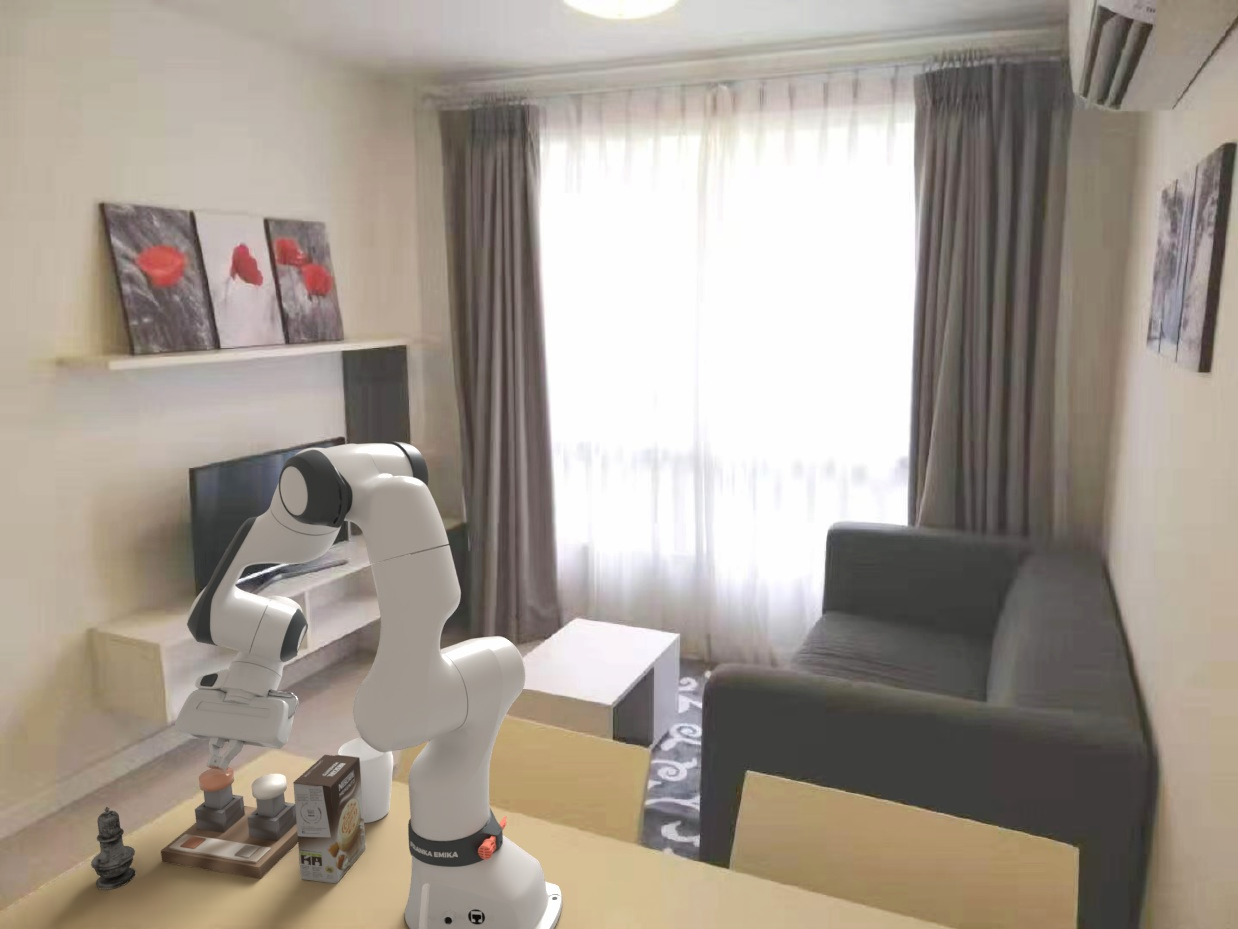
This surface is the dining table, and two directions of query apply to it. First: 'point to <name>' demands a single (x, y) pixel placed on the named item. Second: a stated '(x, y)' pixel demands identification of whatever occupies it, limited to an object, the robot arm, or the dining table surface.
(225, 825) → the pattern board
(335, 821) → the coffee box
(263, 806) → the white button
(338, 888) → the dining table surface
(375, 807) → the cup
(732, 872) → the dining table surface
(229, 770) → the terracotta button
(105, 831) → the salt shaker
